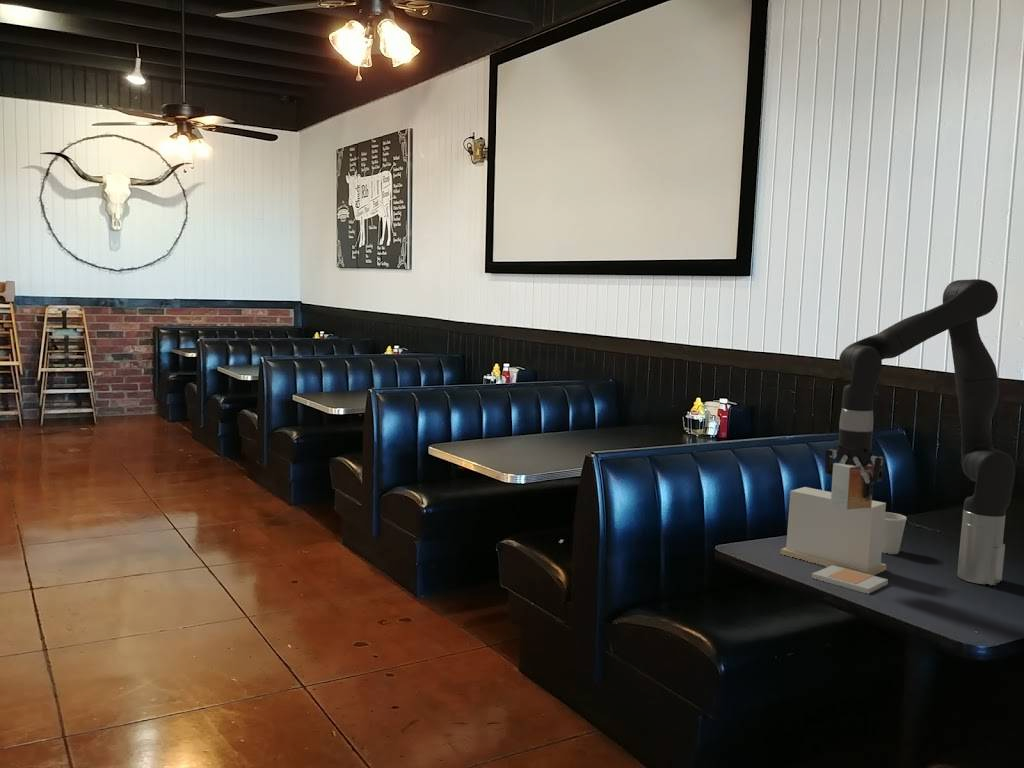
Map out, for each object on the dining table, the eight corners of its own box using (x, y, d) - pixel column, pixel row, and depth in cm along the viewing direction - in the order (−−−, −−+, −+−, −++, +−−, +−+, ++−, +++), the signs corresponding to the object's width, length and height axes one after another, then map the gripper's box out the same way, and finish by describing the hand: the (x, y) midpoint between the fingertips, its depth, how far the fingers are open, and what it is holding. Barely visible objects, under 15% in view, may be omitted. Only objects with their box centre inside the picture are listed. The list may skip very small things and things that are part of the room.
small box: (846, 510, 205) (849, 467, 204) (829, 505, 210) (832, 462, 209) (872, 508, 208) (875, 465, 207) (855, 502, 213) (857, 461, 212)
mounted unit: (885, 570, 220) (891, 503, 218) (868, 578, 213) (874, 509, 211) (798, 547, 237) (803, 485, 235) (780, 554, 230) (785, 490, 228)
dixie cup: (897, 547, 241) (900, 512, 240) (908, 556, 233) (911, 520, 232) (867, 545, 242) (870, 511, 241) (876, 554, 234) (879, 518, 233)
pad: (887, 584, 209) (888, 579, 209) (868, 593, 201) (868, 588, 201) (832, 569, 219) (832, 564, 219) (811, 578, 211) (812, 573, 211)
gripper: (892, 430, 205) (887, 498, 206) (834, 422, 215) (831, 487, 217) (878, 433, 200) (874, 503, 201) (820, 425, 210) (816, 492, 212)
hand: (851, 495), depth 209 cm, fingers closed on small box, 6 cm apart
